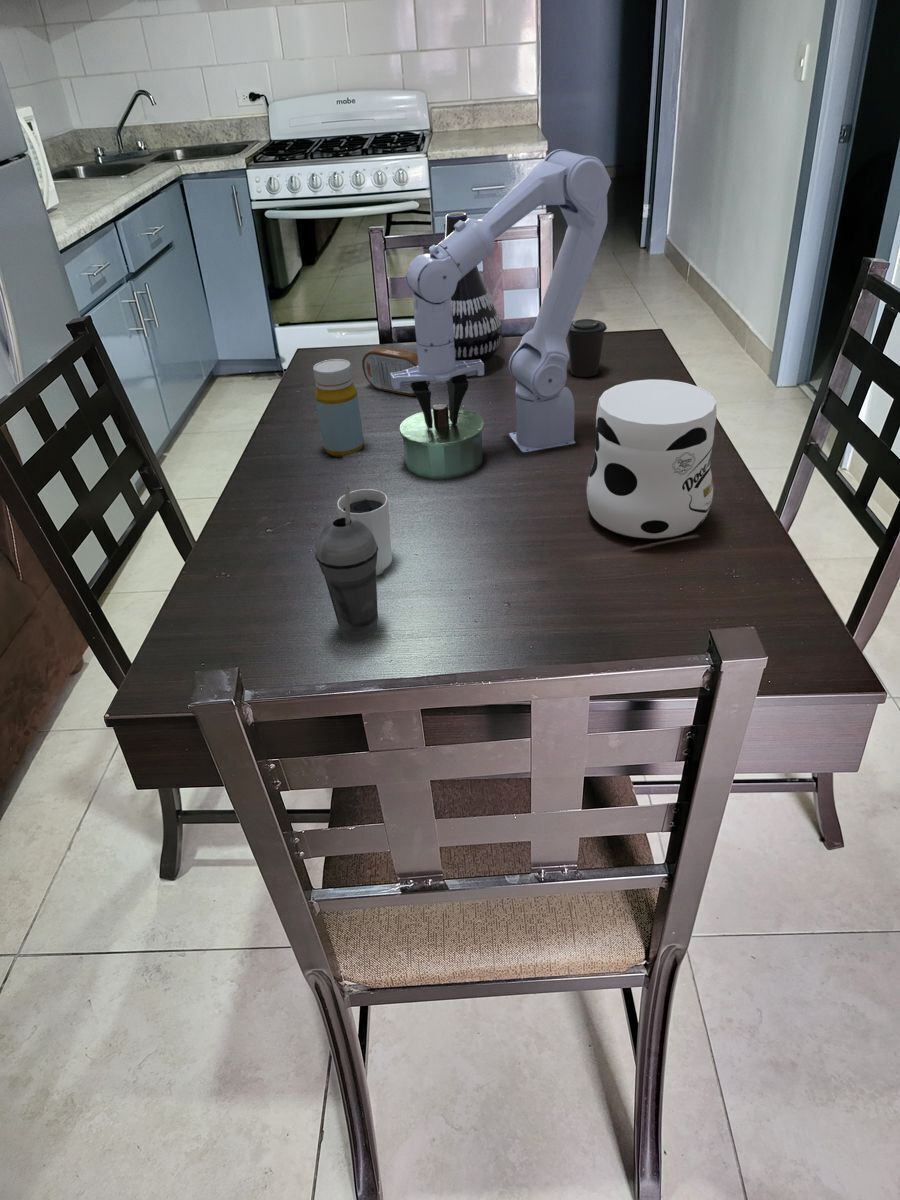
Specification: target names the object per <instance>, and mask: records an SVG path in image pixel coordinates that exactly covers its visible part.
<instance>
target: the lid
mask: <svg viewBox="0 0 900 1200" xmlns="http://www.w3.org/2000/svg"><path fill="white" fill-rule="evenodd" d="M431 415H432V422H433V428H428V427H427V425H426V422H425V418H424V414H423V411H419V412H417V413H415V414H412V415H410V416H408V417H407V418H405V419H404V420H403V421H402V422H401V424H400V425H399V434H400V436H401V437H402V439H403V438H404V439H405V440H407V441H409V442H411V443H414V444H418V445H423V446H449V445H455V444H459V443H463V442H466V441H469V440H471V439H473V438H475V437H476V436H478V435H479V434H480V433H481V432H483V431H484V428H485V422H484V419H483V418H482V417H481V416H480V415H479V414H477V413H476V412H473V411H471V410H467V409H462V408H460V409H459V414H458V420H457V424H453V423H452V422H451V420H450V415H449V404H447V403H436V404H434V405H433V406H432V408H431Z"/></svg>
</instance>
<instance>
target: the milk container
mask: <svg viewBox="0 0 900 1200" xmlns="http://www.w3.org/2000/svg"><path fill="white" fill-rule="evenodd" d="M716 423H717V402H716V400H715V398H714V396H713V394H712V393H710V392H709V391H707V390H706V389H704V388H703V387H700V386H697V385H695V384H691V383H688V382H684V381H677V380H671V379H640V380H639V379H638V380H632V381H631V380H630V381H626V382H623V383H620V384H619V383H618V384H616V385H613V386H612V387H609V388H608V389H606V390H604V391H603V393H602V394H601V395H600V396H599V398H598V401H597V406H596V413H595V431H594V456H593V461H592V464H591V468H590V470H589V474H588V477H587V482H586V501H587V506H588V511H589V512H590V515H591V517H592V518H593V519H594V521H595V522H596V523H597V525H599V526H600V527H602V528H604V529H605V530H607V531H608V532H611V533H613V534H615V535H617V536H620V537H624V538H628V539H632V540H639V541H651V542H655V541H662V540H672V539H675V538H677V537H678V538H679V537H681V536H684V535H687V534H689V533H691V532H694V531H695V530H696V529H697V528H698V527H700V526H701V525H702V524H703V522H704V521H705V520H706V518H707V516H708V514H709V511H710V509H711V505H712V502H713V498H714V497H713V496H714V482H713V481H714V480H713V474H712V468H711V457H712V451H713V446H714V439H715V427H716Z"/></svg>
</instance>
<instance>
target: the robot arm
mask: <svg viewBox="0 0 900 1200" xmlns="http://www.w3.org/2000/svg"><path fill="white" fill-rule="evenodd" d="M611 184H612V180H611V177H610V175H609V173H608V171H607V169H606V166H605V165H604V163H603V162H602V161H601V160H600V158H597V157H596V156H593V155H584V154H580V153H576V152H571V151H569V150H568V149H564V148H557V149H554V150H553V151H551V152H550V153H548V154H547V155H546V157H545V158H544V159H542V160H539V161H537V162H536V163H534V165H533V166H532V168H531V169H530V171H529V172H528V173H527V175H526V176H525V177H523V179H521V181H519V182H518V183H517V184H516V185H515V186H514V187H513V188H512V189H511V190H510V191H509V192H508V193H507V194H506V195H504V197H502V198H501V199H500V200H499V201H498V202H497V203H496V204H495V205H494V206H493V207H492V208H491V209H490V210H489V211H488V212H487V213H486V214H484V215H483V217H481V218H480V219H475V218H467V220H466V221H465V222H463V221H461V220H460V221H458V222H457V223H456V224H455V225H454V227H455V229H456V230H454V231H453V232H452V233H451V234H450V235H449V236H447V237H446V238H445V237H444V239H442V240H441V241H440V242H439V243H438V244H436V245H435V244H432V245H431V246H430V247H429V248H428V251H429V253H424V254H419V255H417V256H415V257H414V258H413V259H412V260H411V261H410V263H409V265H408V266H409V267H408V268H407V270H406V274H405V275H404V281H405V283H406V286H407V288H408V289H409V290H410V291H411V292H412V302H413V303H412V304H413V319H414V320H413V321H414V329H415V330H414V331H415V339H416V340H415V341H416V353H417V354H418V365H419V366H416V367H413V368H410V369H406V370H403V371H399V372H395V373H390V375H391V384H392V387H393V388H394V389H400V388H401V387H402V386H408V385H410V387H411V388H412V390H413V392H414V394H415V397H416V399H417V401H418V404H419V406H420V409H421V412H423V414H424V418H425V422H426V425H427V427H428V428H433V422H432V415H431V410H432V407H431V406H432V403H431V397H432V394H431V393H432V392H431V391H430V389H429V387H428V385H427V384H426V383H427V382H430V383H433V382H437V383H442V382H446V385H447V394H448V408H449V415H450V420H451V422H452V423H453V424H457V420H458V414H459V409H461V406H462V402H463V399H464V397H465V395H466V393H467V391H468V389H469V380H468V379H467V377H470V376H477V377H481V376H485V363H483V362H482V361H481V360H480V359H479V360H468V361H455V348H454V334H453V318H452V306H451V297H452V296H453V294H454V292H455V290H456V287H457V283H458V281H459V280H460V279H461V278H463V277H464V276H465V275H466V274H467V273H469V272H470V271H471V270H472V269H473V268H474V267H476V266H477V267H478V265H479V264H481V263H482V262H483V261H484V260H485V259H487V257H489V256H490V255H491V254H493V251H494V247H495V241H496V239H497V238H498V237H501V236H502V235H503V233H505V232H507V231H508V230H509V229H510V228H512V227H513V226H514V225H516V224H517V223H519V222H520V221H521V220H523V219H524V218H525V217H526V216H528V215H529V214H530V213H532V212H533V211H534V210H536V209H537V208H538V207H540V206H541V207H542V206H558V207H559V209H560V211H561V213H562V215H563V218H564V219H565V222H566V224H567V228H566V231H565V235H564V238H563V241H562V243H561V246H560V248H559V252H558V255H557V258H556V261H555V264H554V267H553V270H552V272H551V277H550V278H549V282H548V284H547V286H546V287H547V288H546V290H545V293H544V295H543V300H542V302H541V304H540V307H539V311H538V314H537V317H536V320H535V323H534V326H533V327H532V328H531V329H530V330H528V331H527V332H526V333H525V334H523V336H522V338H521V340H520V343H519V344H518V346H517V348H516V349H515V350H514V351H513V353H512V354H511V355H510V358H509V361H508V371H509V374H510V376H511V377H512V379H514V380H515V390H514V391H515V432H509V433H508V436H509V437H510V439H512V441H513V442H514V443H515V445H516V446H517V447H518V449H519V450H520V451H521V452H522V453H528V452H529V453H530V452H534V451H540V450H545V449H551V448H557V447H563V446H568V445H573V444H576V441H575V418H576V416H575V414H576V413H575V411H576V409H575V399H574V396H573V393H572V391H571V389H570V388H569V387H567V386H566V383H567V380H568V371H567V369H568V364H569V362H570V356H569V347H568V343H567V338H568V332H569V329H570V326H571V323H572V321H574V318H575V314H576V312H577V310H578V307H579V303H580V301H581V298H582V295H583V293H584V290H585V288H586V284H587V281H588V279H589V276H590V273H591V271H592V268H593V265H594V262H595V260H596V257H597V253H598V251H599V249H600V245H601V243H602V240H603V237H604V234H605V233H606V229H607V225H608V192H609V190H610V187H611Z"/></svg>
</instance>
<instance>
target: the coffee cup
mask: <svg viewBox="0 0 900 1200" xmlns="http://www.w3.org/2000/svg"><path fill="white" fill-rule="evenodd" d="M607 330H608V326H607V325H606V323H605V322H603V321H601V320H597V319H593V318H582V319H577V320H572V323H571V326H570V329H569V332H568V334H567V346H568V352H569V356H570V358H569V364H570V365H569V366H570V374H571V375H573V376H575V377H579V378H590V377H594V376H596V375H597V374H598V373H599V367H600V362H601V354H602V348H603V342H604V335H605V331H607Z"/></svg>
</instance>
